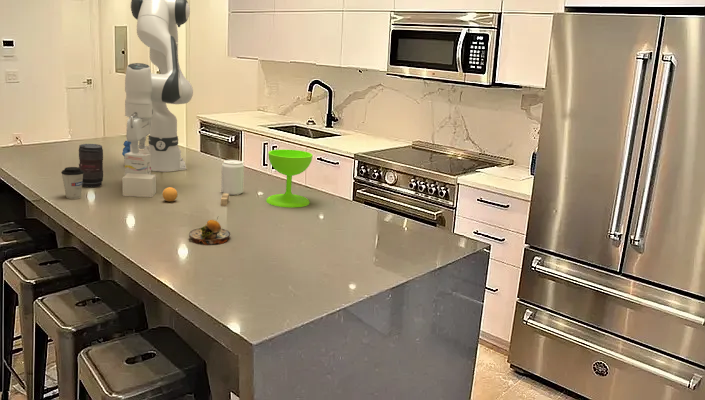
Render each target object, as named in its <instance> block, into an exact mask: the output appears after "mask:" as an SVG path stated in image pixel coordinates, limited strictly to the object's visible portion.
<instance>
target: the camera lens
mask: <svg viewBox="0 0 705 400" xmlns="http://www.w3.org/2000/svg"><path fill="white" fill-rule="evenodd" d="M78 160H79V163H78V167H79V168H80V170H83V172H84V173H83V181H82V188H83V187H84V188H98V187H101V186H102V185H103V180H104V167H103V166H104V165H103V164H104V149H103V145H102V144H99V143H98V144H97V143H83V144H82V143H81V144H79V147H78Z"/></svg>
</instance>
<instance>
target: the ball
mask: <svg viewBox="0 0 705 400" xmlns="http://www.w3.org/2000/svg"><path fill="white" fill-rule="evenodd" d="M162 198H163V199H164V201H166V202H169V203H172V202H174V201H175V200H176V199H177V198H178V191H177V190H176V188H174V187H172V186H171V187H170V186H169V187H166V188H164V189H163V191H162Z"/></svg>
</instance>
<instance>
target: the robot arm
mask: <svg viewBox="0 0 705 400" xmlns="http://www.w3.org/2000/svg"><path fill="white" fill-rule="evenodd" d="M190 10H191V8H190V5H189V2H188V0H131V1H130V11H131V14H132V17H133V18H134V19H136V20H137V22H136V34H137V35H136V36H137V37H138V39H139V40H140V42H142V44H144V45H145V46H146V47H148V48H149V61H150V62H151V63H152V64H153V65H154V66H156V67H157V69H158V70H159V73H153V72H152V70H151V66H150V65H149V64H146V63H140V62H134V63H130V64H128V65H127V66H126V70H125V77H124V78H125V79H124V91H125V100H124V116H125V117H128V119H127V120H126V121H127V122H126V132H125V133H126V141H129V142H131V146H132V153H135V154H137V153H138V152H139V150H144V148H145V146H146V141H147V140H148V146H150V154H151V172H175V171H176V172H177V171H185V170H187V167H186V162H185V160H183V158H182V154H181V153H182V150H181V149H180V147H179V136H178V119H177V116H176V115H175V114H174V113H172V112H171V111H170V110H169V108H168V105H169V104H170V105H184V104H188V103H189V102H190V101H191V100H192V99H193V98H192V97H193V95H194V89H193V86H192V84H191V82H190V81H189V80H188V79H187V77H185V76H184V74H183V72H182V69H181V68H180V62H179V32H178V28H180V27H181V26H182V25H184V24H185V23H187V22H188V19H189V17H190V13H191V11H190ZM167 104H168V105H167ZM147 136H148V139H147ZM138 145H139V148H138Z"/></svg>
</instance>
